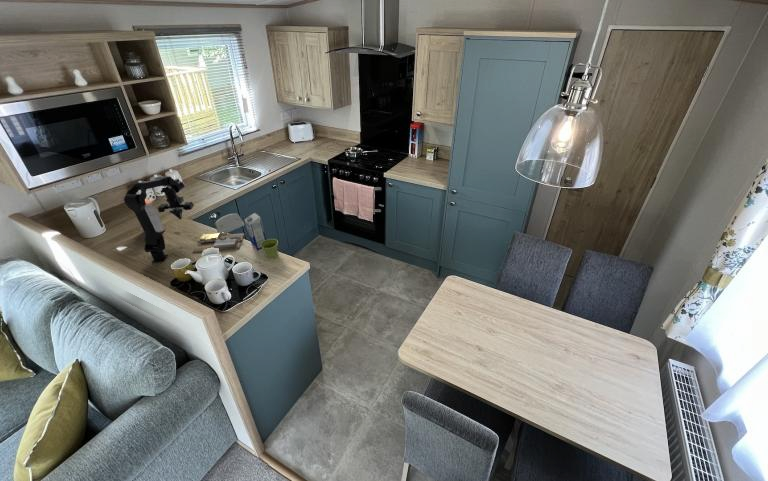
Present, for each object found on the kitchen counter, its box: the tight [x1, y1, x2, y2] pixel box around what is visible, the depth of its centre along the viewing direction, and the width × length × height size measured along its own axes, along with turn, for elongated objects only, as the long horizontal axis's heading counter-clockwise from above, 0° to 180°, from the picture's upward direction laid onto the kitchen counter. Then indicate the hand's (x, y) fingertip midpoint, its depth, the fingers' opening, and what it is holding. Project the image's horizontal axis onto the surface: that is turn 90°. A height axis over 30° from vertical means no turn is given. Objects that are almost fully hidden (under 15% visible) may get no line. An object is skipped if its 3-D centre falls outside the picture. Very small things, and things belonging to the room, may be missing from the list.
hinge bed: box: [192, 233, 245, 254], centre depth 206 cm, size 16×26×4 cm, turn 98°
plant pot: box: [261, 238, 279, 260], centre depth 192 cm, size 9×9×9 cm
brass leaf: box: [199, 232, 221, 241], centre depth 208 cm, size 6×10×2 cm, turn 97°
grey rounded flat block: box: [214, 213, 246, 235], centre depth 220 cm, size 17×5×10 cm, turn 138°
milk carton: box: [244, 212, 267, 251], centre depth 198 cm, size 7×7×20 cm
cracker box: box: [145, 197, 166, 233], centre depth 218 cm, size 14×6×21 cm, turn 49°
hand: (180, 219), depth 211 cm, fingers closed
